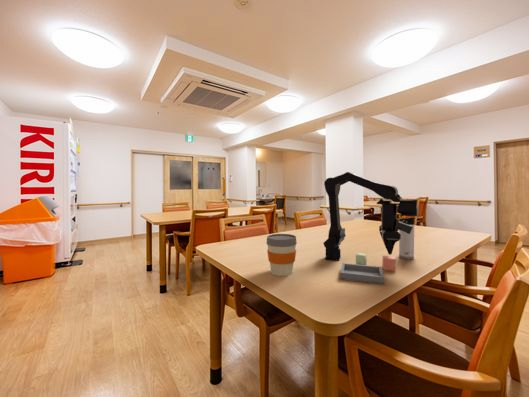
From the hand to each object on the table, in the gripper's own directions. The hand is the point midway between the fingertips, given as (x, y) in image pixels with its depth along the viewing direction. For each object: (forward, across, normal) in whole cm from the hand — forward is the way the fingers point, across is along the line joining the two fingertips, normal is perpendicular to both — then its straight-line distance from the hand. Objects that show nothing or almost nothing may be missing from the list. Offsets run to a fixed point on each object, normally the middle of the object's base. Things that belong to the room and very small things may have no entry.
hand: (388, 251), depth 101 cm
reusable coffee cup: (+8, -19, +42) cm, 47 cm away
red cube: (+8, 0, 0) cm, 8 cm away
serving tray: (+7, -13, +11) cm, 19 cm away
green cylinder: (+8, 0, +11) cm, 13 cm away
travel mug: (+8, +20, -10) cm, 24 cm away
